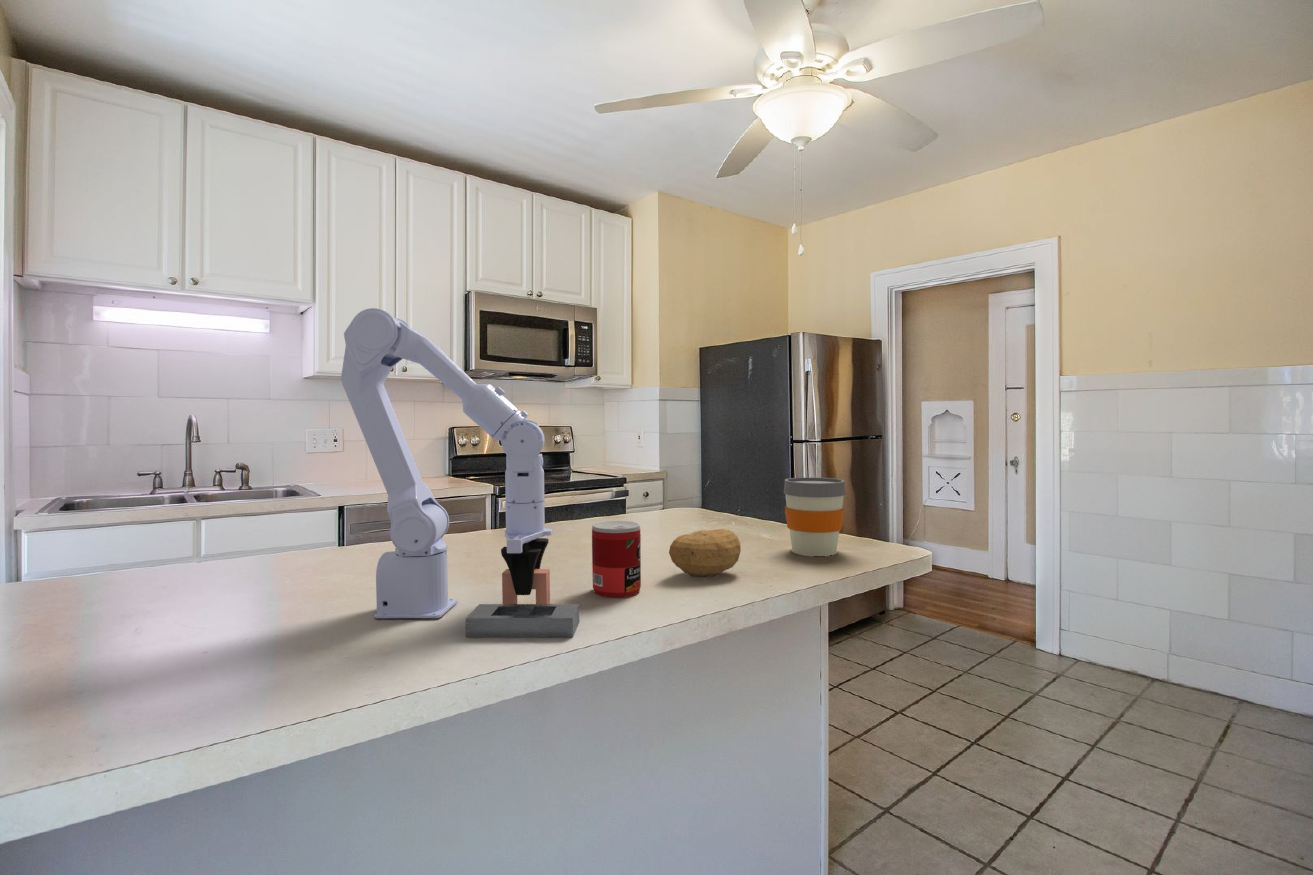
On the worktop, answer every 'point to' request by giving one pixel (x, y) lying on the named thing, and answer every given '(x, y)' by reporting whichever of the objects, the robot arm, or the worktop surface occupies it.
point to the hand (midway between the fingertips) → (526, 590)
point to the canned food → (616, 558)
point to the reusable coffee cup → (814, 514)
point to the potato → (705, 552)
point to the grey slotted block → (523, 620)
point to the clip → (539, 583)
